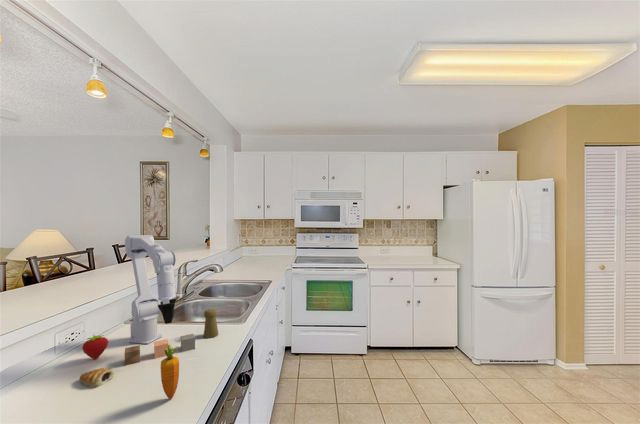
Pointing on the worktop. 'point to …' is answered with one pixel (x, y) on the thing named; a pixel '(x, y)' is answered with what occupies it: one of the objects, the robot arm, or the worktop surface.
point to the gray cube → (187, 342)
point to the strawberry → (95, 346)
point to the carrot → (170, 372)
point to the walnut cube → (132, 355)
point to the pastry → (96, 377)
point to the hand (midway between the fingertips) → (169, 321)
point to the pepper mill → (210, 323)
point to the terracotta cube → (160, 348)
